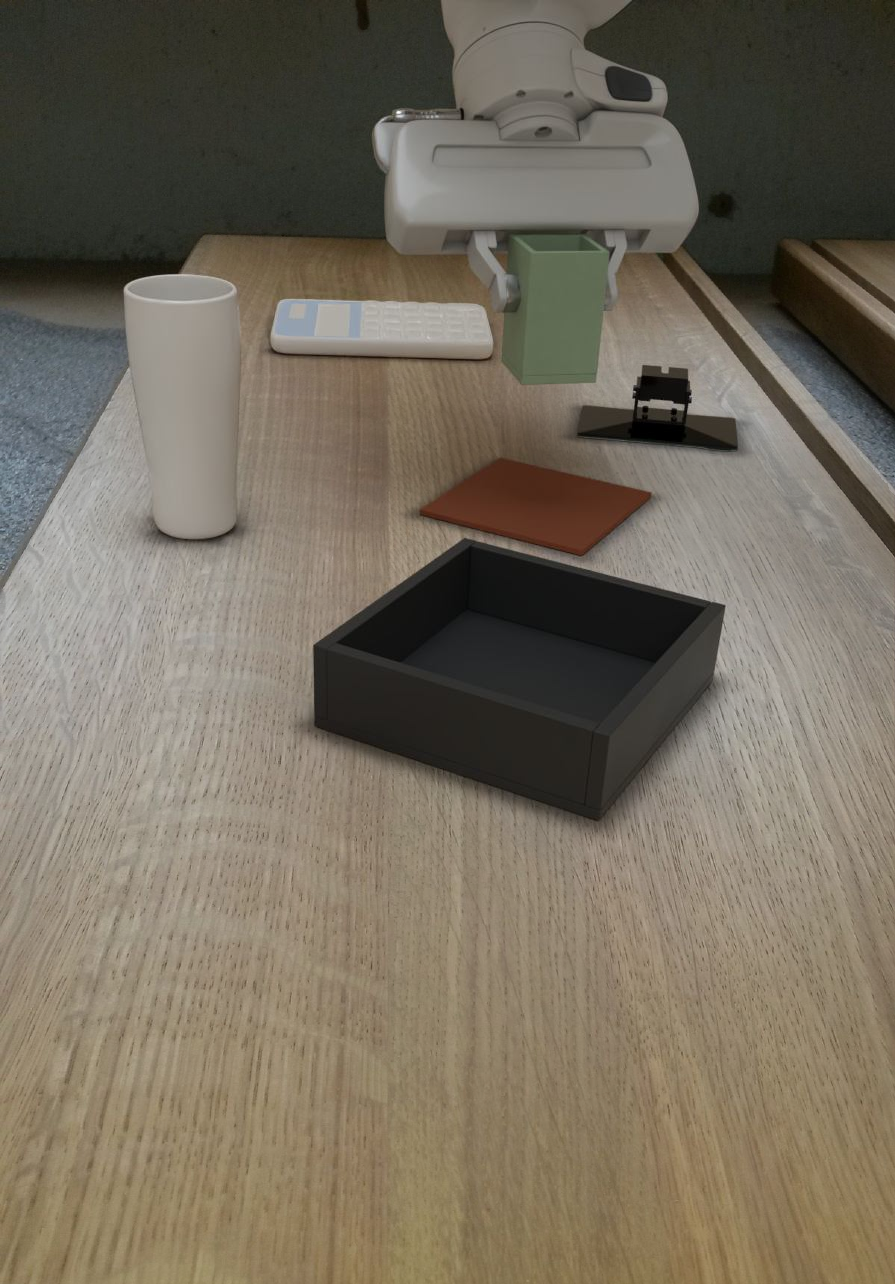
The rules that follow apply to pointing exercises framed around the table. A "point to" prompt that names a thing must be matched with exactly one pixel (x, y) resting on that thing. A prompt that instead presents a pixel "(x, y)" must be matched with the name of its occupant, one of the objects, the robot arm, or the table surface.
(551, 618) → the bin
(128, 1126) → the table surface
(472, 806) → the table surface
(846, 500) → the table surface
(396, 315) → the calculator
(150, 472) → the drinking glass
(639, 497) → the mat
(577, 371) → the box
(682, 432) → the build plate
